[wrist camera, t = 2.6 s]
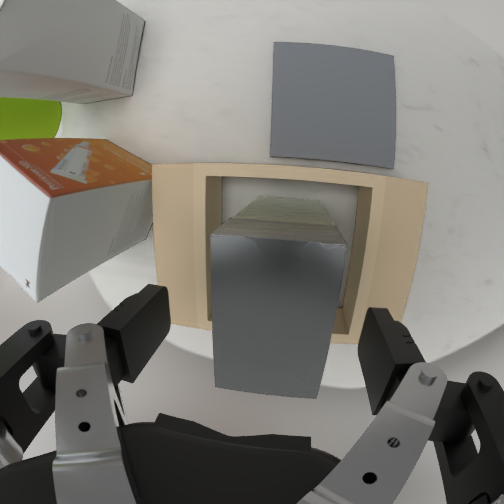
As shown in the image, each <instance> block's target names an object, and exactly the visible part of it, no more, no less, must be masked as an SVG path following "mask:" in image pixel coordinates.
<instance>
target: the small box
mask: <svg viewBox="0 0 504 504" xmlns="http://www.w3.org/2000/svg"><path fill="white" fill-rule="evenodd" d="M152 223H153V203H152V165H151V164H149V163H147V162H146V161H144V160H142V159H140V158H138V157H136V156H134V155H133V154H131V153H129V152H127V151H126V150H124V149H122V148H120V147H118V146H117V145H115V144H113V143H111V142H110V141H108V140H106V139H83V138H33V139H9V140H0V266H1V267H2V268H3V269H4V270H5V271H6V272H7V273H8V274H9V275H10V276H11V277H12V278H13V279H14V280H15V281H16V282H17V283H18V285H19V286H20V287H21V288H22V289H23V290H24V291H25V292H26V293H27V294H28V295H29V296H30V297H31V298H32V299H33V300H34V301H35V302H36V303H38V302H39V301H41V300H43V299H44V298H46V297H47V296H49V295H50V294H52V293H54V292H55V291H57V290H58V289H60V288H62V287H63V286H65V285H66V284H68V283H70V282H71V281H73V280H75V279H76V278H78V277H80V276H81V275H83V274H85V273H86V272H88V271H90V270H92V269H93V268H95V267H97V266H98V265H100V264H102V263H104V262H105V261H107V260H109V259H111V258H113V257H114V256H116V255H118V254H120V253H122V252H123V251H125V250H127V249H129V248H130V247H132V246H134V245H136V244H138V243H140V242H141V241H143V240H145V239H146V237H147V235H148V232H149V230H150V227H151V225H152Z"/></svg>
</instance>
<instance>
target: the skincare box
mask: <svg viewBox="0 0 504 504" xmlns="http://www.w3.org/2000/svg"><path fill="white" fill-rule="evenodd" d="M144 22H145V21H144V20H143V19H142V18H141V17H139V16H138V15H136V14H135V13H134V12H132V11H131V10H129V9H128V8H126V7H125V6H123V5H122V4H120V3H119V2H117V1H116V0H0V97H10V98H29V99H42V100H53V101H62V102H71V103H78V104H86V103H91V102H96V101H102V100H107V99H113V98H119V97H126V96H132V93H133V85H134V78H135V71H136V64H137V58H138V53H139V47H140V42H141V36H142V31H143V27H144Z"/></svg>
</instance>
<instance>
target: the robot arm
mask: <svg viewBox="0 0 504 504" xmlns="http://www.w3.org/2000/svg"><path fill="white" fill-rule="evenodd" d="M170 325H171V317H170V306H169V294H168V289H167V287H165V286H159V285H153V284H148V285H147V286H146V287H144V288H143V289H142V290H141V291H140V292H139V293H138V294H137V293H136V294H134V295H132V296H130V297H127V298H126V299H125V300H123V301H122V302H121V303H120V304H119V305H118V306H117V307H115V308H114V310H112V311H111V312H110V313H109V314H108V315H106V316H105V317H104V318H103V319H102V320H101V321H100V322H99V323H98V324H91V323H87V324H81V325H78V326H75V327H74V328H72V329H71V330H70V331H69V332H68V333H67V335H61V334H53V331H52V328H51V325H50V323H49V322H47V321H44V320H36V321H32V322H29V323H27V324H26V325H24V326H23V327H22V328H21V329H19V330H18V331H17V332H16V333H14V334H13V335H12V336H11V337H9V338H8V339H7V340H6V341H5V342H4V343H2V344H1V345H0V504H393V502H394V500H395V499H396V498H397V496H398V494H399V493H400V491H401V490H402V488H403V486H404V485H405V483H406V481H407V480H408V478H409V476H410V474H411V472H412V471H413V469H414V467H415V465H416V463H417V461H418V459H419V457H420V455H421V453H422V451H423V449H424V447H425V445H426V443H427V441H428V440H430V441H433V442H434V446H435V449H436V454H437V458H438V462H439V466H440V471H441V475H442V480H443V485H444V490H445V495H446V501H447V504H504V391H503V389H502V388H501V386H500V384H499V383H498V381H497V380H496V379H495V378H494V377H493V376H491V375H490V374H488V373H485V372H474V373H472V374H471V375H470V376H469V378H468V379H467V381H466V383H459V382H453V381H447V376H446V374H445V373H444V371H443V370H442V369H441V368H439V367H438V366H436V365H434V364H431V363H426V362H425V360H424V358H423V356H422V354H421V353H420V351H419V349H418V347H417V345H416V344H415V343H414V340H413V338H412V337H411V335H410V333H409V331H408V329H407V328H406V327H405V326H404V325H403V324H401V323H400V322H399V321H394V319H393V317H392V315H391V314H390V312H389V310H388V309H387V308H376V307H369V308H368V309H367V312H366V316H365V320H364V324H363V327H362V331H361V335H360V338H359V343H358V357H359V361H360V364H361V368H362V372H363V376H364V380H365V384H366V388H367V393H368V397H369V401H370V406H371V410H372V415H377V416H376V417H375V419H374V420H373V421H372V423H371V424H370V425H369V427H368V428H367V429H366V431H365V432H364V433H363V435H362V436H361V437H360V439H359V440H358V441H357V442H356V443H355V445H354V446H353V447H352V448H351V450H350V451H349V452H348V453H347V454H346V456H345V457H344V458H343V459H342V460H340V459H338V458H337V457H335V456H333V455H331V454H329V453H327V452H325V451H322V450H319V449H316V448H312V447H311V437H303V436H288V435H276V434H269V435H256V436H240V437H239V436H238V437H232V436H227V435H225V434H222V433H219V432H217V431H215V430H212V429H210V428H207V427H205V426H203V425H201V424H198V423H196V422H194V421H189V420H185V419H180V418H176V417H173V416H169V415H165V414H162V413H159V415H158V417H157V419H156V421H155V422H140V423H132V424H128V420H127V417H126V413H125V409H124V405H123V400H122V397H121V391H120V388H119V385H118V384H119V382H120V381H121V380H124V381H127V382H130V383H134V381H135V380H136V378H137V377H138V375H139V374H140V372H141V371H142V370H143V368H144V367H145V365H146V364H147V362H148V361H149V360H150V358H151V357H152V355H153V354H154V353H155V351H156V350H157V348H158V347H159V346H160V344H161V343H162V341H163V340H164V339H165V337H166V336H167V334H168V333H169V330H170ZM31 366H33V368H34V370H35V372H36V374H37V378H36V379H35V380H34V381H33V382H32V384H31V385H30V386H29V387H28V388H27V389H26V390H25V391H24V392H23V393H22V392H21V390H20V388H19V380H20V378H21V376H22V375H23V374H24V373H25V372H26V371H27V370H28V369H29V368H30V367H31ZM54 411H55V428H56V447H57V450H56V451H53V452H50V453H47V454H43V455H40V456H37V457H33V458H29V459H26V460H22V458H23V453H24V452H25V451H26V449H27V448H28V446H29V445H30V443H31V442H32V440H33V439H34V438H35V436H36V435H37V434H38V432H39V431H40V429H41V428H42V427H43V425H44V424H45V423H46V421H47V420H48V419H49V417H50V416H51V415H52V413H53V412H54ZM475 429H476V431H477V434H478V437H479V439H480V444H481V445H480V451H479V453H477V450H476V447H475V445H474V441H473V439H472V436H471V434H472V432H473V431H474V430H475Z"/></svg>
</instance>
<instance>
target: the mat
mask: <svg viewBox="0 0 504 504" xmlns="http://www.w3.org/2000/svg"><path fill="white" fill-rule="evenodd" d="M395 140H396V88H395V68H394V56H392V55H388V54H383V53H378V52H373V51H367V50H361V49H355V48H348V47H341V46H333V45H323V44H311V43H293V42H274V53H273V88H272V117H271V144H270V156H273V157H290V158H305V159H317V160H327V161H337V162H346V163H355V164H363V165H370V166H377V167H384V168H391V169H394V161H395Z"/></svg>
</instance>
